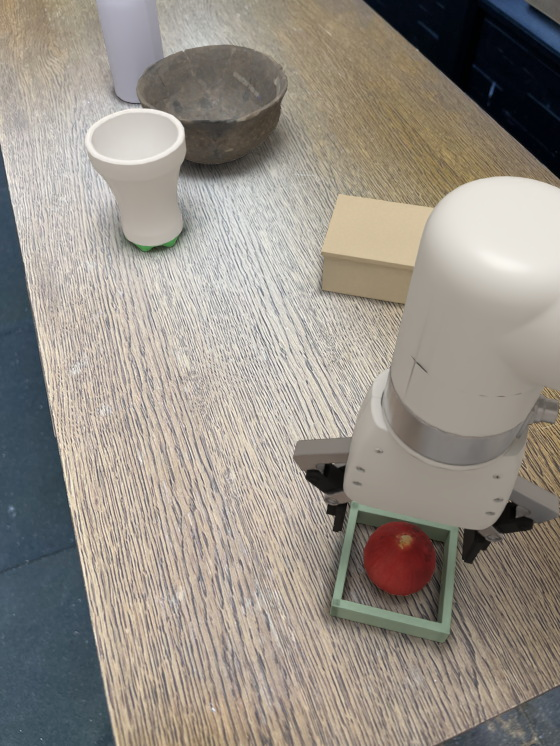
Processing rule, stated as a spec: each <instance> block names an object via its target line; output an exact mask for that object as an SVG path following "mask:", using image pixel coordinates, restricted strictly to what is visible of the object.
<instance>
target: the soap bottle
mask: <svg viewBox="0 0 560 746" xmlns="http://www.w3.org/2000/svg"><path fill="white" fill-rule="evenodd" d="M94 1H95V5H96V10H97V15H98V18H99V23H100V28H101V33H102V39H103V42H104V46H105V50H106V51H105V52H106V56H107V61H108V64H109V70H110V75H111V79H112V84H113V88H114V92H115V94H116V97H118V98H119V99H120V100H122V101H124V102H126V103H131V104H141V103H140V101H139V99H138V97H137V92H136V87H137V83H138V80H139V78H140V77H141V75H142V74H143V72H144V71H145V70H146V68H147V67H149V66H150V65H152V64H154V63H156V62H157V61H159V60H161V59H163V58H165V54H164V47H163V41H162V34H161V27H160V21H159V14H158V8H157V0H94Z"/></svg>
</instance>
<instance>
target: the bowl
mask: <svg viewBox="0 0 560 746" xmlns="http://www.w3.org/2000/svg"><path fill="white" fill-rule="evenodd" d="M288 81H289V80H288V76H287V75H286V70H284V67H283V66H282V64H280V63H279V62H277V60H275V59H274V58H273V57H272V56H271V55H268V54H266V53H264V52H262V51H259V50H256V49H254V48H250V47H246V46H242V45H241V46H240V45H235V44H225V43H224V44H212V45H203V46H196V47H193V48H185V49H184V51H183V50H179V51H177V52H175V53H171V54H169V55H167V56H164V58H163V59H161V60H159V61H157V62H156V63H154V64H152V65H150V66H149V67H147V68H146V70H145V71H144V72H143V74H142V75H141V77H140V78H139V80H138V83H137V87H136V92H137V97H138V99H139V101H140V103H139V104H140V105H141V108H143V109H154V110H159V111H163V112H166V113H168V114H171V115H173V116H174V117H175V118H177V119H178V120H179V121H180V122H181V124H182V125H183V127H184V133H185V143H186V154H185V158H184V160H187V161H189V162H193V163H195V164H196V163H197V164H201V165H220V164H221V165H222V164H226V163H230V162H232V161H235V160H238V159H240V158H243V157H244V156H246V155H248V154H250V153H251V152H253V151H254V150H255V149H256V148H258V147H259V146H260V145H261V144H263V143H265V141H266V140H267V139H268V138H269V137H270V136H271V134H272V133H273V132H274V130H275V129H277V126H278V124H279V121H280V118H281V114H282V111H281V110H282V101H283V100H284V98H285V96H286V93H287V91H288V85H289V82H288Z"/></svg>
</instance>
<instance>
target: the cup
mask: <svg viewBox="0 0 560 746" xmlns="http://www.w3.org/2000/svg"><path fill="white" fill-rule="evenodd" d="M84 147H85V150H86V153H87V156H88V159H89V160H88V161H89V162H90V164H91V166H92V168H93V169H94V171H96V173H97V174H99V176H100V177H102V178H103V180H104V182H105V183H106V184H107V186H108V188H109V190H110V191H111V192H112V194H113V196H114V198H115V201H116V203H117V207H118V209H119V212H120V225H121V229H122V232H123V235H124V238H125V239H126V240H127V241H129V242H130V243H132V244H134V245H135V246H136V247H138V249H140V250H141V251H142V252H148V251H149V252H150V251H151V250H152V249H153V248H155V247H159V246H164V247H168V248H170V247H173V246H175V243H176V241H177V239H178V238H179V236H180V234H181V232H182V231H183V229H184V220H183V214H182V213H183V212H182V210H181V208H180V205H179V201H178V184H179V183H178V182H179V177H180V170H181V167H182V164H183V162H184V161H185V159H184V158H185V154H186V143H185V133H184V127H183V125H182V124H181V122H180V121H179V120H178V119H177V118H175V117H174V116H173V115H171V114H168V113H166V112H163V111H159V110H154V109H143V108H142V107H141V108H140V107H138V108H137V107H136V108H127V109H126V108H125V109H123V110H118V111H115V112H113V113H110V114H107V115H104V117H102V118H100V119H98V120H97V121H96V122H94V123H93V124H92V125H91V126H90V127H89V128H88V129H87V131H86V133H85V135H84Z"/></svg>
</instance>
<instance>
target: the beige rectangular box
mask: <svg viewBox="0 0 560 746" xmlns="http://www.w3.org/2000/svg"><path fill="white" fill-rule="evenodd" d="M434 208H435V207H432V206H431V207H430V206H424V205H416V204H410V203H405V202H404V203H403V202H397V201H389V200H382V199H376V198H369V197H363V196H356V195H349V194H342V193H338V195H337V198H336V200H335V205H334V209H333V211H332V214H331V218H330V221H329V224H328V228H327V231H326V234H325V237H324V241H323V243H322V247H321V250H320V256H323V263H322V264H323V265H322V278H321V279H322V280H321V281H322V283H321V291H326V292H330V293H338V294H344V295H349V296H355V297H360V298H367V299H372V300H377V301H378V300H379V301H383V302H384V301H385V302H390V303H395V304H402V305H405V302H406V298H407V294H408V290H409V286H410V282H411V277H412V273H413V269H414V265H415V261H416V257H417V252H418V248H419V244H420V240H421V237H422V234H423V230H424V227H425V224H426V222H427V219H428V218H429V216H430V214H431V212H432V211H433V209H434Z"/></svg>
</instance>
